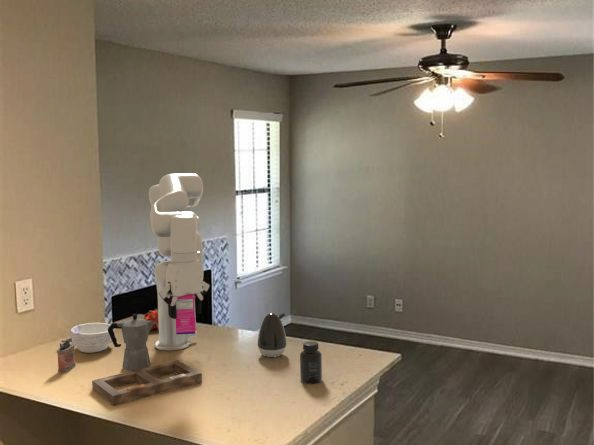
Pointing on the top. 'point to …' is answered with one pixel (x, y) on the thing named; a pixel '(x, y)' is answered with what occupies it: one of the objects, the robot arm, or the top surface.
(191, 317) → the supplement box
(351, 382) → the top surface
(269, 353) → the dark grey tapered dome
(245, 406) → the top surface
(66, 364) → the lighter
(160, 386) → the wooden compartment tray
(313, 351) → the supplement bottle
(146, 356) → the coffeepot
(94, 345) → the paper bowls
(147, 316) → the dragon fruit
